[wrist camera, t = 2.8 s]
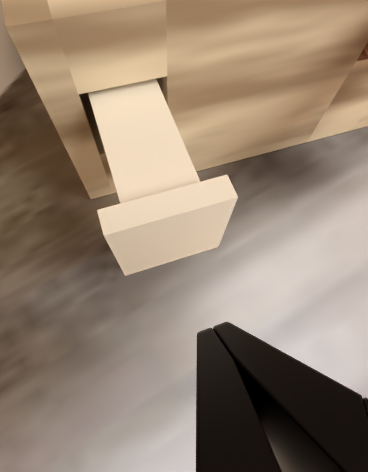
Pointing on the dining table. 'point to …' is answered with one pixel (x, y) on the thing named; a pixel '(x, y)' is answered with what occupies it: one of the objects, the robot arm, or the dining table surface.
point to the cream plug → (155, 182)
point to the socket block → (198, 70)
